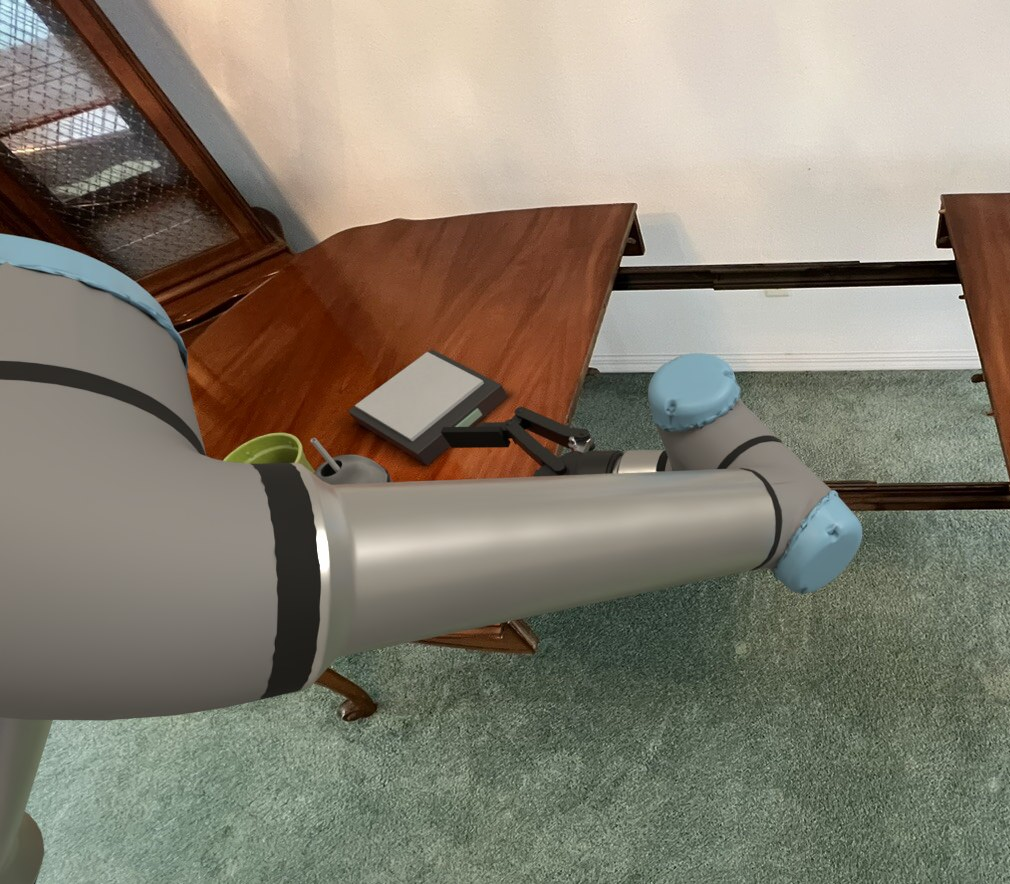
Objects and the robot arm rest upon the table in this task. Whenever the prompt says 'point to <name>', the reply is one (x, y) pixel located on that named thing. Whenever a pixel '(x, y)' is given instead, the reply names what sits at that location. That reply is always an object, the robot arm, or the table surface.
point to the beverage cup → (349, 469)
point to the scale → (427, 405)
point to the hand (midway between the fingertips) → (422, 488)
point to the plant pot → (271, 451)
